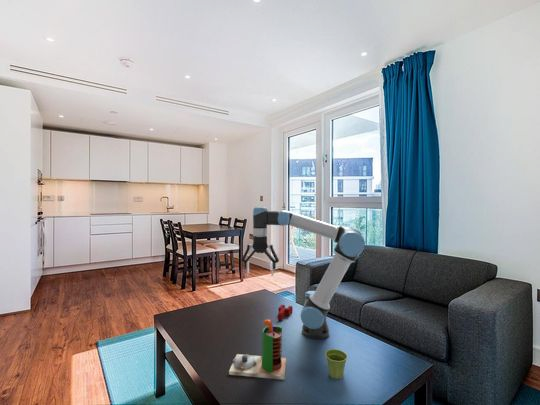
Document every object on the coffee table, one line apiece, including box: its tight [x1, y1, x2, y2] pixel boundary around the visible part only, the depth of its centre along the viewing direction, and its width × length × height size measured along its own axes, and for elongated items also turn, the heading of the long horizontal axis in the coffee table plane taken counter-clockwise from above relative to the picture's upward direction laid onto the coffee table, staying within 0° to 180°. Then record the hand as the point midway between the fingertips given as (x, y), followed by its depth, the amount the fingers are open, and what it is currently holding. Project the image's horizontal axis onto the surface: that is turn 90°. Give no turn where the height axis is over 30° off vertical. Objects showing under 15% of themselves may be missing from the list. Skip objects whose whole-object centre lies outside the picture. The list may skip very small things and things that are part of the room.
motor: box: [261, 318, 283, 373], centre depth 123 cm, size 10×9×20 cm
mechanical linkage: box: [277, 304, 293, 322], centre depth 178 cm, size 16×7×5 cm, turn 159°
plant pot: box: [324, 348, 348, 380], centre depth 120 cm, size 9×9×9 cm
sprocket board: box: [228, 353, 287, 380], centre depth 125 cm, size 24×13×4 cm, turn 82°
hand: (260, 274), depth 150 cm, fingers open, 13 cm apart
